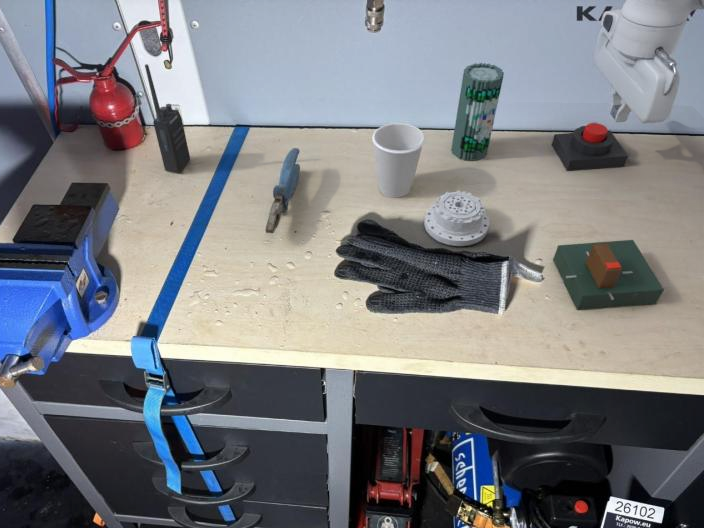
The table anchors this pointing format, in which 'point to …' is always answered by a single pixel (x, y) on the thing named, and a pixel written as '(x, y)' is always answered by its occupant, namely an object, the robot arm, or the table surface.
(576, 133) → the switch block
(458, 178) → the table surface
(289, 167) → the pliers
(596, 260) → the handle
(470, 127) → the can
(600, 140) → the button
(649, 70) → the robot arm
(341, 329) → the table surface
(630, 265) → the panel
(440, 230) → the mechanical component
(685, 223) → the table surface
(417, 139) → the dixie cup
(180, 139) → the walkie-talkie
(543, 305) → the table surface
